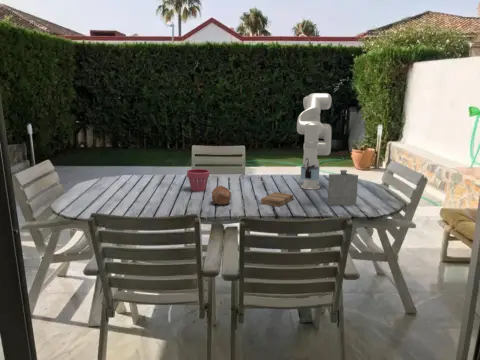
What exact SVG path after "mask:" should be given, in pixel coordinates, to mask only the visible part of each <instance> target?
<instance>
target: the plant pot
mask: <svg viewBox="0 0 480 360" xmlns="http://www.w3.org/2000/svg"><path fill="white" fill-rule="evenodd" d="M186 177H187V178H188V182H189V185H190V186H189V187H190V189H191V191H192V192H200V191H201V192H204V190H205V191H206V189H207V183H208V179H209V177H210V171H209V169H205V168H193V169H188V170H187V171H186Z"/></svg>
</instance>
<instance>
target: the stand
mask: <svg viewBox="0 0 480 360" xmlns="http://www.w3.org/2000/svg"><path fill="white" fill-rule="evenodd" d="M293 200H294V194H292V193H285V192H284V193H283V192H277V191H274V192H273V193H270V194H268V195H266V196H263V197H261V198H260V204H261V205H267V206H272V207H277V206H278V207H279V208H280V206H281V207H282V206H284V205H286V204H288V203H289V202H291V201H293Z"/></svg>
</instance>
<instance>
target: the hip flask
mask: <svg viewBox="0 0 480 360" xmlns="http://www.w3.org/2000/svg"><path fill="white" fill-rule="evenodd" d="M339 172H340V173H329V174H328V188H327V189H328V191H327V206H350V205H356V206H357V197H358V184H359V183H358V182H359V175H358V174H356V173H355V174H354V173H347V172H348V170H347V169H340V171H339Z"/></svg>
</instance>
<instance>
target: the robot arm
mask: <svg viewBox="0 0 480 360" xmlns="http://www.w3.org/2000/svg"><path fill="white" fill-rule="evenodd" d="M332 101H333V100H332V96H331V94H329V93H327V92H321V93H320V92H314V93H310V94H309V95H306V96H305V97H303V101H302V102H303V103H302V104H303V108H304V110H303V111H302V112H300V114H299V115H298V117H297V121H296V131H297V133H298V134H300V135H304V142H303V158H302V166H304V167H305V178H309V179H310V178H311V166H315V167H320V166H319V165H320V161H319V159H318V156H329V155H330V154H331V150H332V126H331V124H329V123H322V122H321V110H329V109H330V108H331V107H332ZM319 139H323V140H319ZM319 182H320V180H319V179H318V180H316V181H314V180H306V179H303V184H301V185H300V188H301V189H304V190H311V191H312V190H313V191H314V190H315V191H316V190H319V189H320V188H321V186H320V185H319Z"/></svg>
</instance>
